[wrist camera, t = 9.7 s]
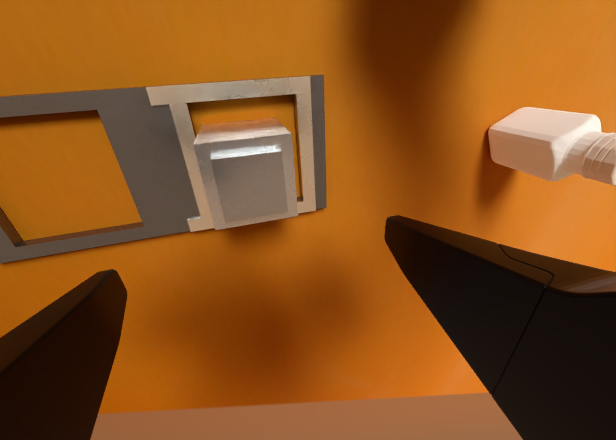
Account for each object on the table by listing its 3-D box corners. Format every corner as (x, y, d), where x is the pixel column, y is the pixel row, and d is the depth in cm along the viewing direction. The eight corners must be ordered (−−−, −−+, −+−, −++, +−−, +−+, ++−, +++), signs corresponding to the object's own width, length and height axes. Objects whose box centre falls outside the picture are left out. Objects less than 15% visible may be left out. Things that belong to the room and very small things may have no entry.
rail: (320, 74, 19) (324, 74, 18) (323, 203, 24) (327, 208, 23) (-121, 104, 14) (-143, 106, 13) (-3, 258, 19) (-14, 266, 18)
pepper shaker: (524, 141, 27) (654, 172, 19) (488, 163, 27) (602, 203, 19) (522, 103, 24) (669, 118, 16) (483, 126, 25) (610, 154, 17)
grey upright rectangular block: (274, 117, 20) (294, 135, 14) (281, 182, 22) (300, 220, 16) (201, 124, 19) (192, 147, 13) (217, 191, 21) (215, 235, 15)
